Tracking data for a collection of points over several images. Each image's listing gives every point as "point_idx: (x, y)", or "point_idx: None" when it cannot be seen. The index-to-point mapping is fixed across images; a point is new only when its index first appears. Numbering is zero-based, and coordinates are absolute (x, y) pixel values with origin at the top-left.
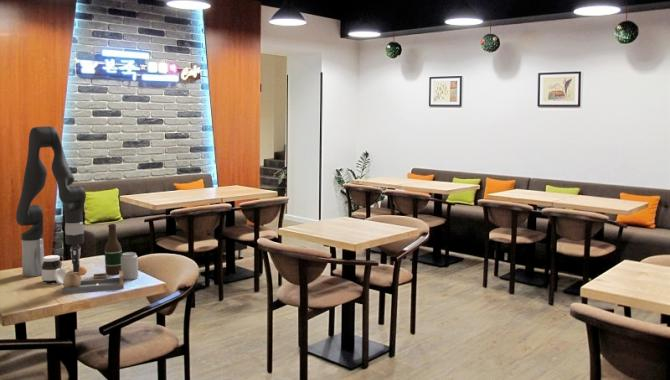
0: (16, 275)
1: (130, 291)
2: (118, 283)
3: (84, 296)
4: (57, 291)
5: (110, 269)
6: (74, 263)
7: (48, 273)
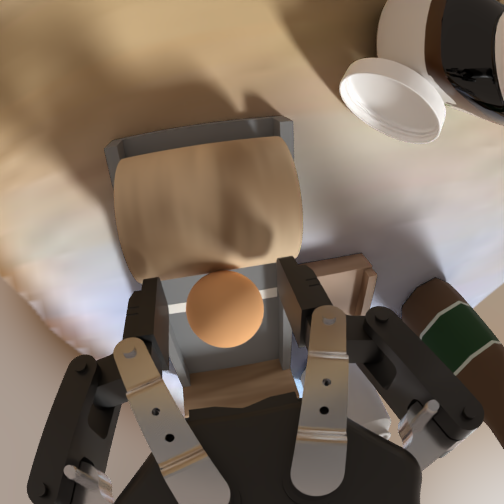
0: None
1: None
2: (188, 383)
3: (61, 272)
4: (174, 93)
5: (419, 314)
6: (103, 364)
7: (407, 21)
